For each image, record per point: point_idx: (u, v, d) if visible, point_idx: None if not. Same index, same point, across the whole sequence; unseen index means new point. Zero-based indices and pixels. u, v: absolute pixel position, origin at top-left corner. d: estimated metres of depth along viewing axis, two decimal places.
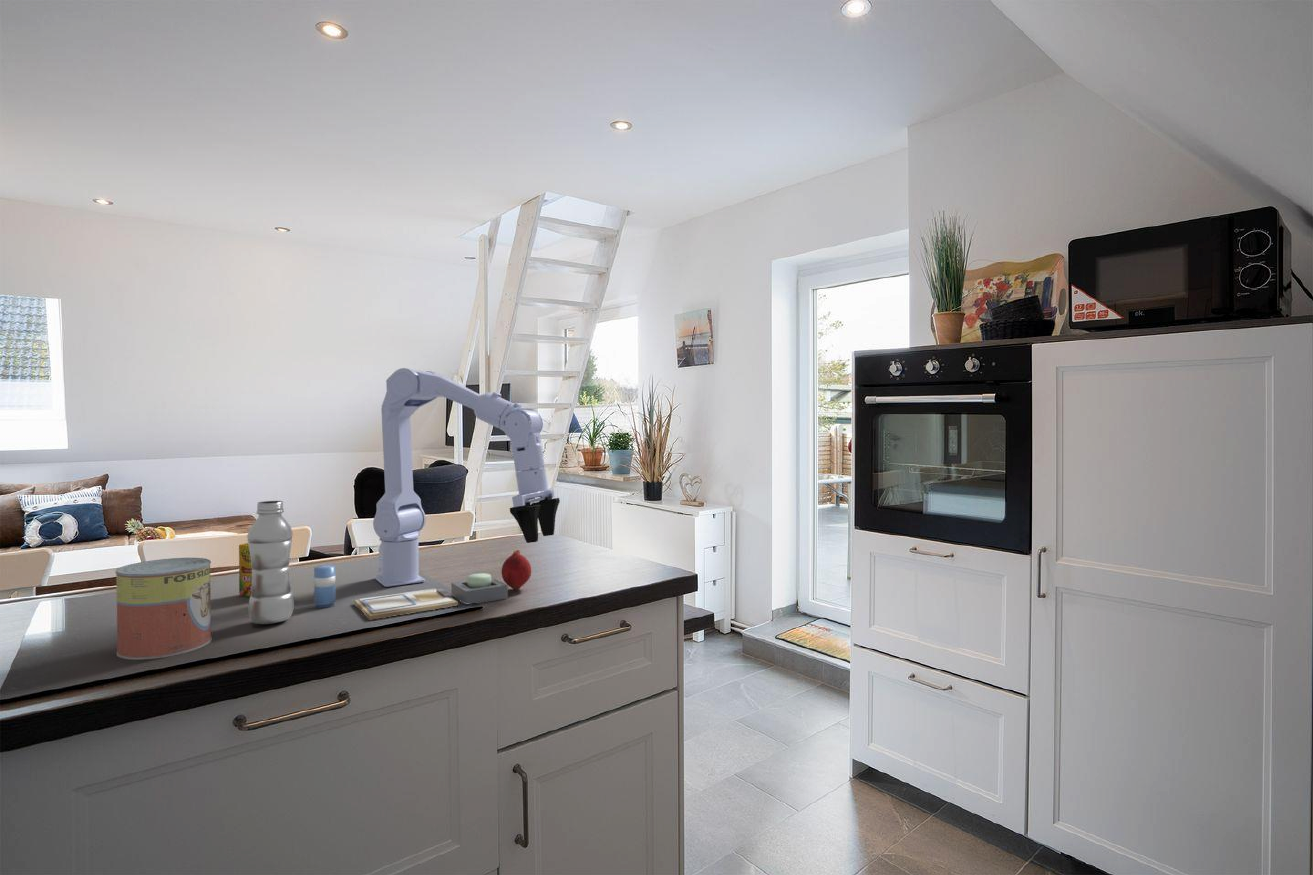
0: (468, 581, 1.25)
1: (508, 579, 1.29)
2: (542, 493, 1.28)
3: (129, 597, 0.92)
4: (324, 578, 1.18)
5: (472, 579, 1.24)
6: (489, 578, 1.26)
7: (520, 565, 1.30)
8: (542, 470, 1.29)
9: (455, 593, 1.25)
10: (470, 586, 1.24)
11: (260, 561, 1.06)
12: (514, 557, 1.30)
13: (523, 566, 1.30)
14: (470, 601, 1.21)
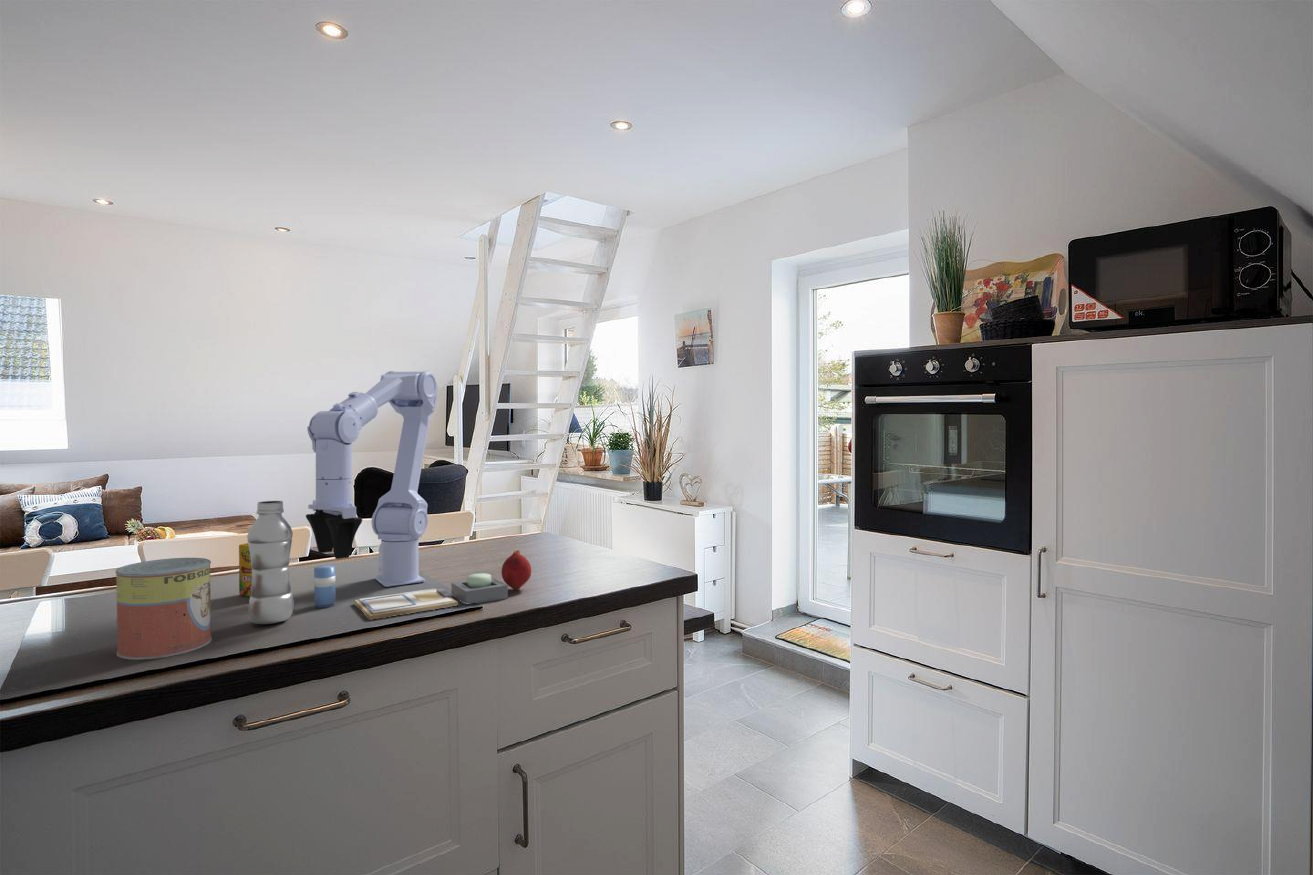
0: (468, 581, 1.25)
1: (508, 579, 1.29)
2: None
3: (129, 597, 0.92)
4: (324, 578, 1.18)
5: (472, 579, 1.24)
6: (489, 578, 1.26)
7: (520, 565, 1.30)
8: (316, 481, 1.16)
9: (455, 593, 1.25)
10: (470, 586, 1.24)
11: (260, 561, 1.06)
12: (514, 557, 1.30)
13: (523, 566, 1.30)
14: (470, 601, 1.21)
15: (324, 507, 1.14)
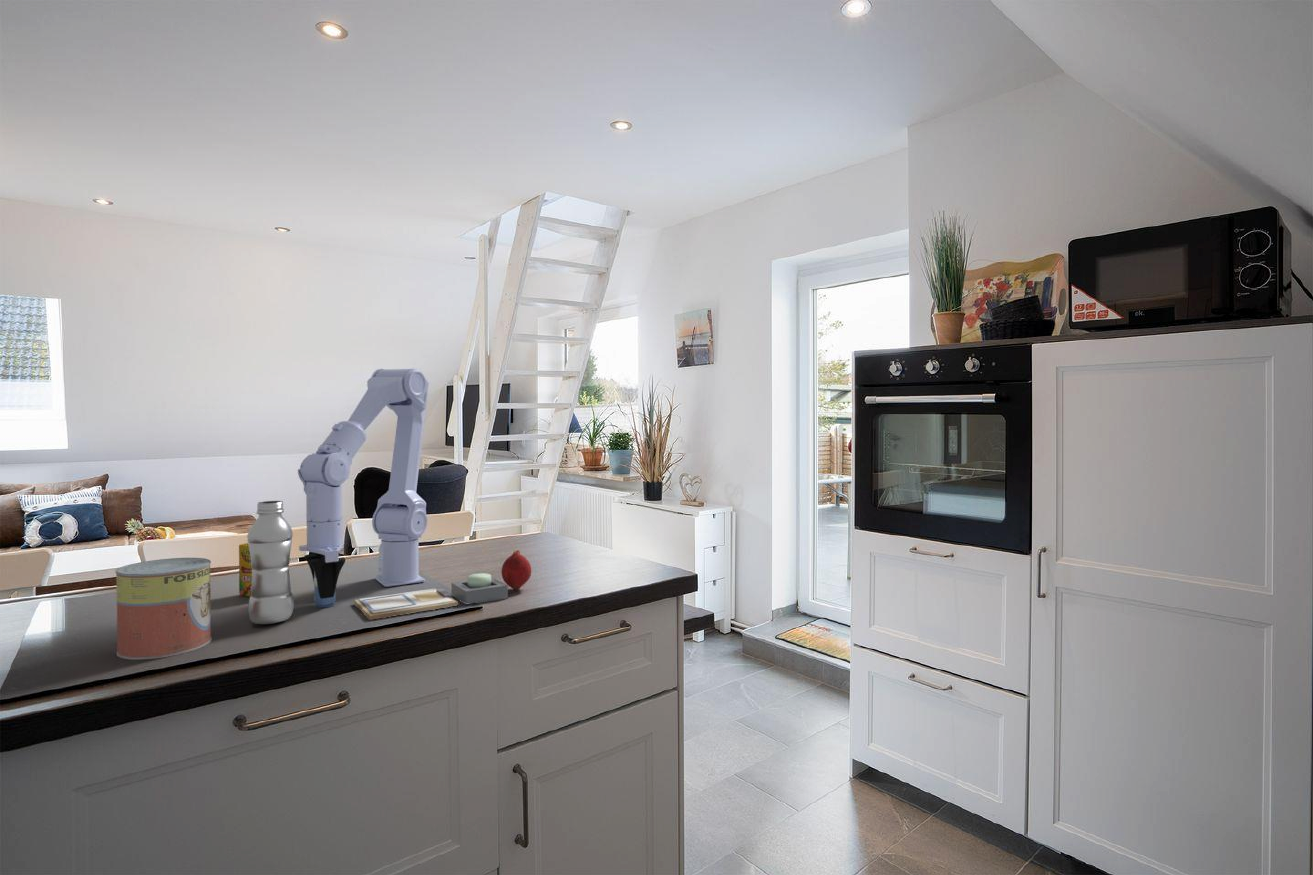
0: (468, 581, 1.25)
1: (508, 579, 1.29)
2: None
3: (129, 597, 0.92)
4: None
5: (472, 579, 1.24)
6: (489, 578, 1.26)
7: (520, 565, 1.30)
8: None
9: (455, 593, 1.25)
10: (470, 586, 1.24)
11: (260, 561, 1.06)
12: (514, 557, 1.30)
13: (523, 566, 1.30)
14: (470, 601, 1.21)
15: (311, 549, 1.16)
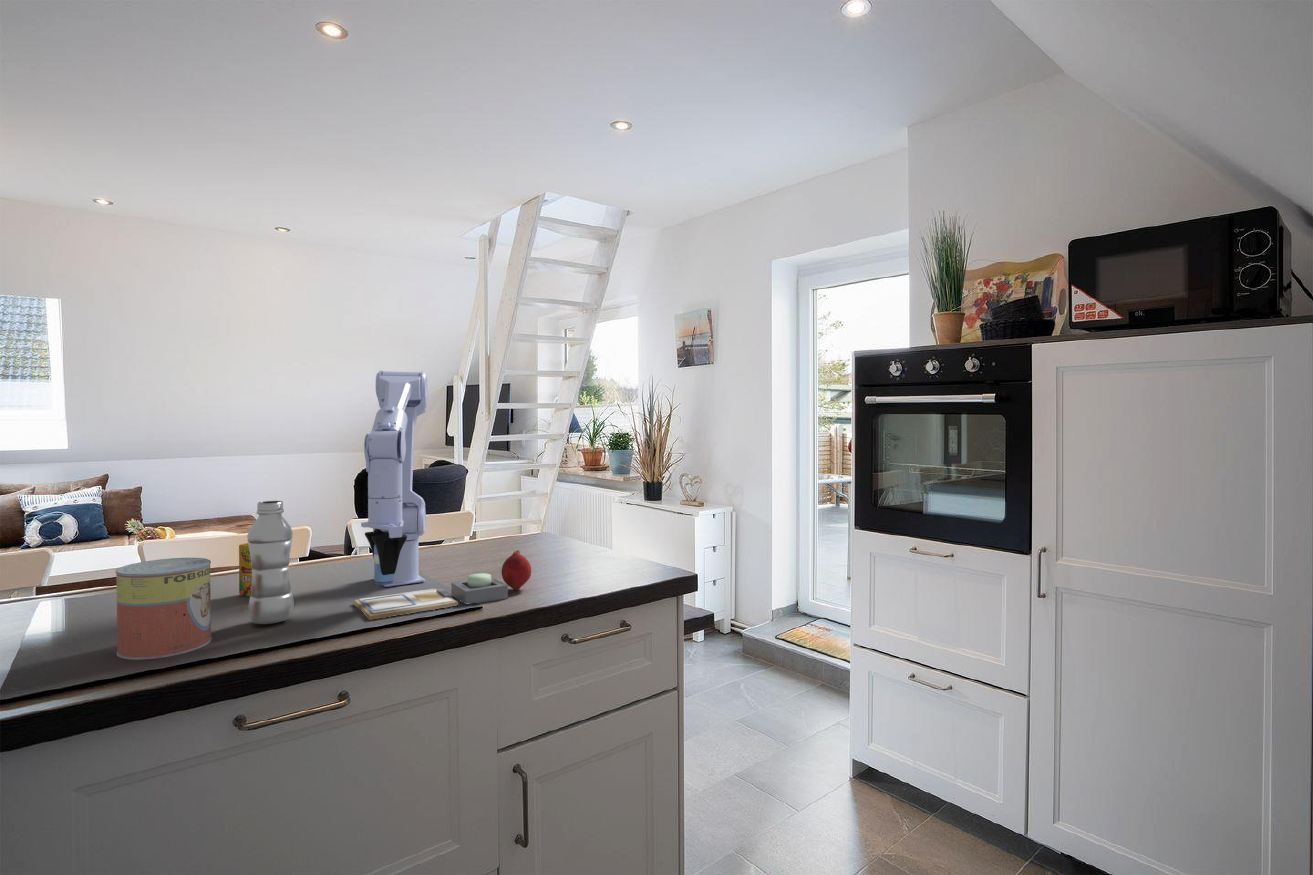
0: (468, 581, 1.25)
1: (508, 579, 1.29)
2: None
3: (129, 597, 0.92)
4: None
5: (472, 579, 1.24)
6: (489, 578, 1.26)
7: (520, 565, 1.30)
8: (368, 500, 1.18)
9: (455, 593, 1.25)
10: (470, 586, 1.24)
11: (260, 561, 1.06)
12: (514, 557, 1.30)
13: (523, 566, 1.30)
14: (470, 601, 1.21)
15: (374, 526, 1.16)
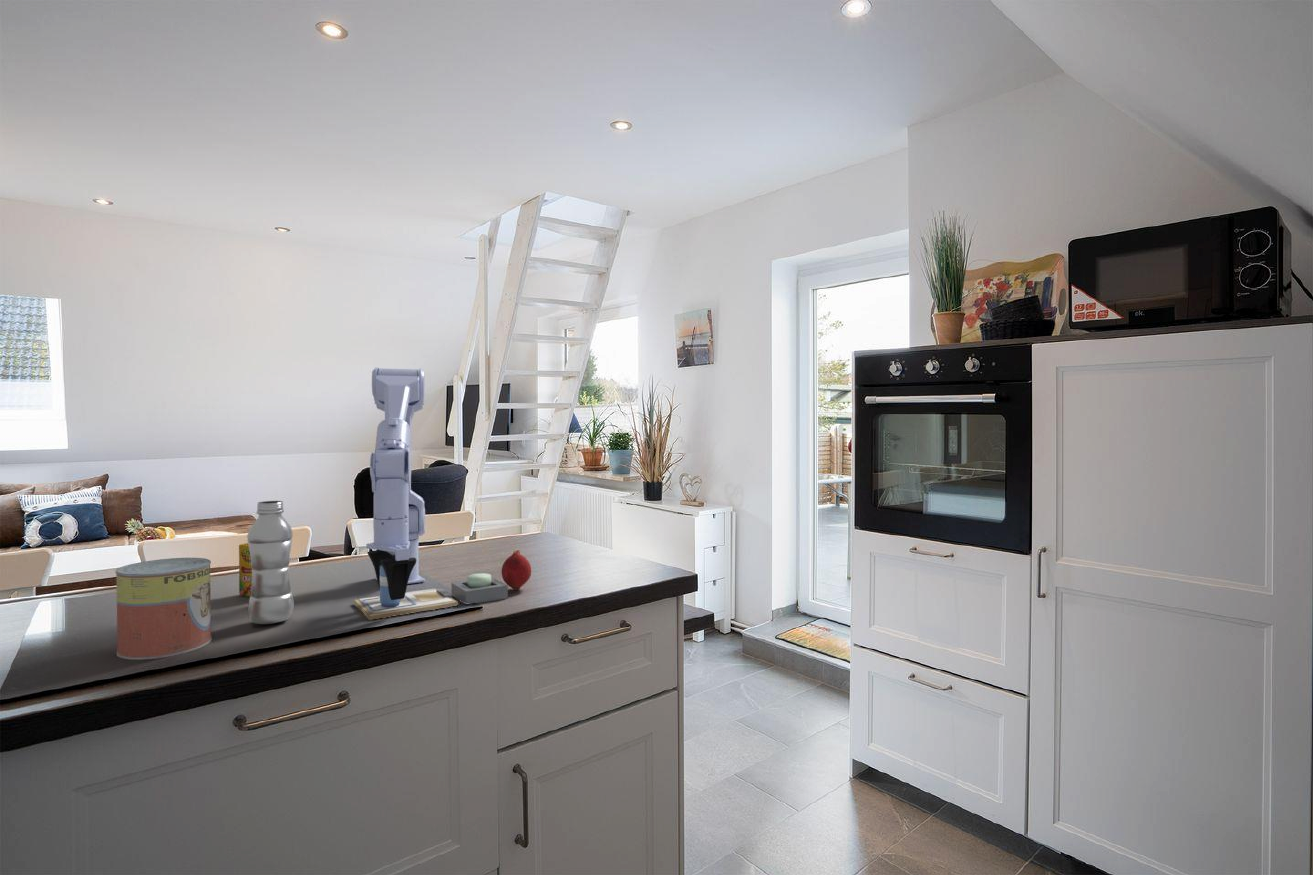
0: (468, 581, 1.25)
1: (508, 579, 1.29)
2: None
3: (129, 597, 0.92)
4: None
5: (472, 579, 1.24)
6: (489, 578, 1.26)
7: (520, 565, 1.30)
8: (373, 520, 1.15)
9: (455, 593, 1.25)
10: (470, 586, 1.24)
11: (260, 561, 1.06)
12: (514, 557, 1.30)
13: (523, 566, 1.30)
14: (470, 601, 1.21)
15: (380, 547, 1.13)
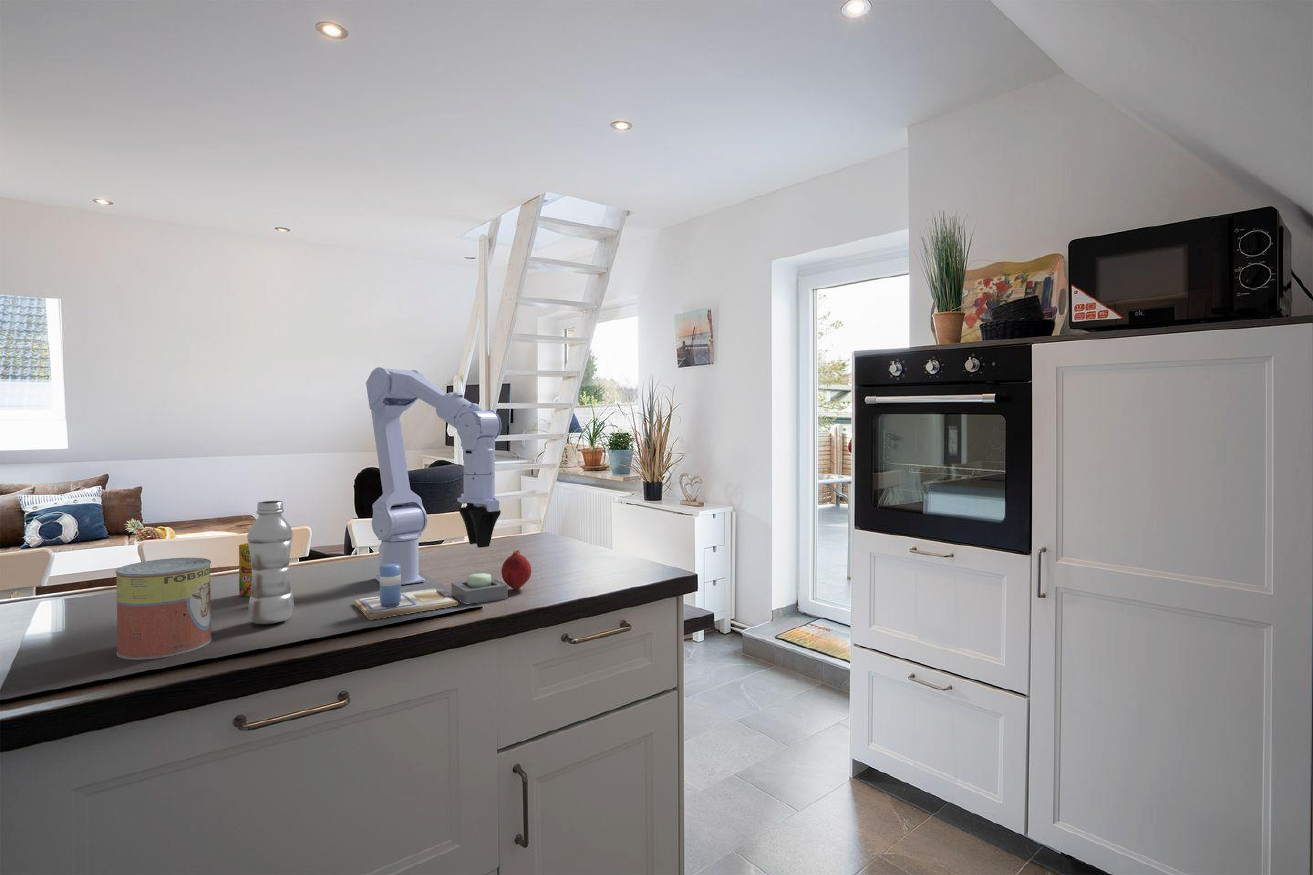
0: (468, 581, 1.25)
1: (508, 579, 1.29)
2: None
3: (129, 597, 0.92)
4: (389, 577, 1.15)
5: (472, 579, 1.24)
6: (489, 578, 1.26)
7: (520, 565, 1.30)
8: (464, 476, 1.24)
9: (455, 593, 1.25)
10: (470, 586, 1.24)
11: (260, 561, 1.06)
12: (514, 557, 1.30)
13: (523, 566, 1.30)
14: (470, 601, 1.21)
15: (471, 500, 1.22)
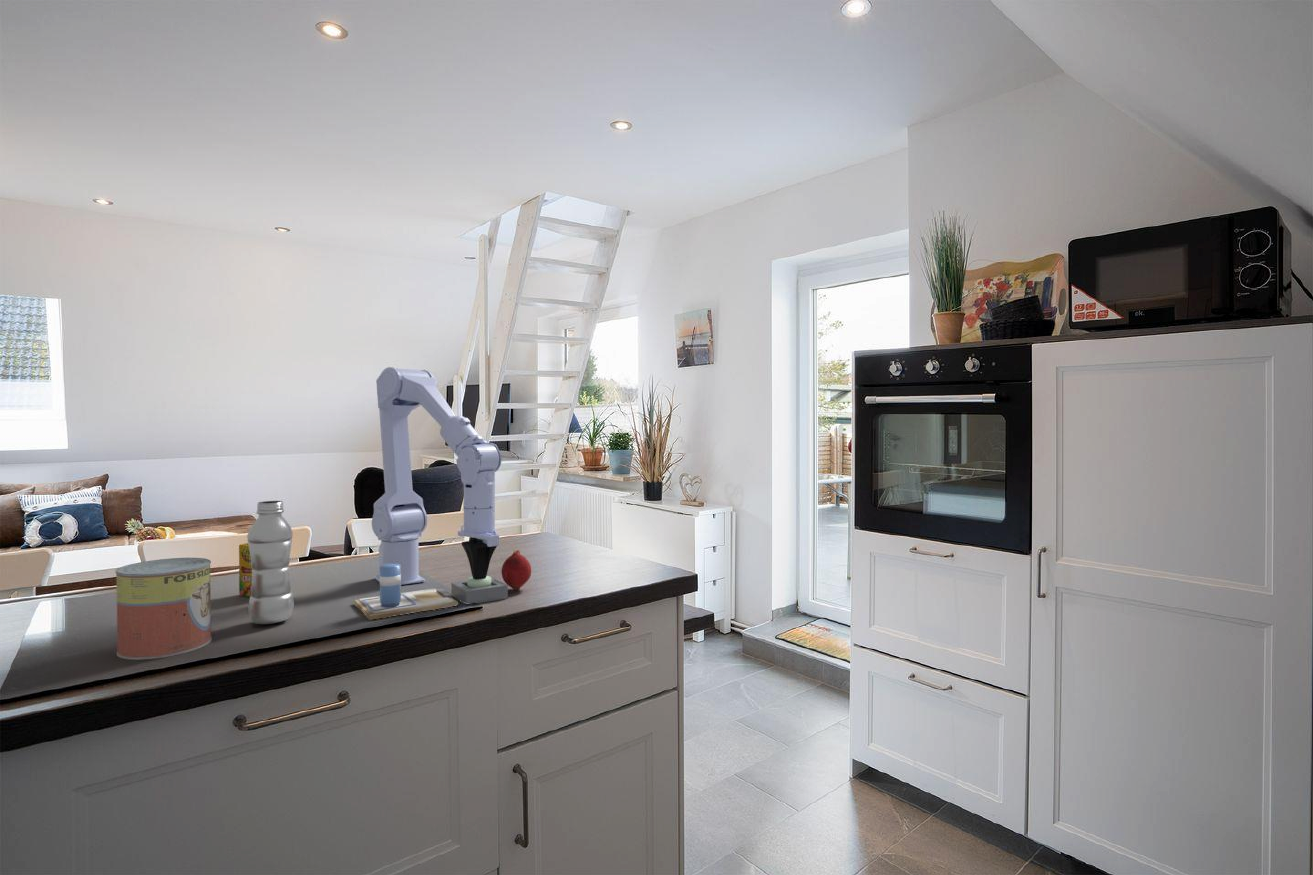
0: (468, 583, 1.25)
1: (508, 579, 1.29)
2: None
3: (129, 597, 0.92)
4: (389, 577, 1.15)
5: (472, 581, 1.24)
6: (489, 580, 1.26)
7: (520, 565, 1.30)
8: (464, 510, 1.25)
9: (455, 593, 1.25)
10: None
11: (260, 561, 1.06)
12: (514, 557, 1.30)
13: (523, 566, 1.30)
14: (470, 601, 1.21)
15: (471, 535, 1.23)
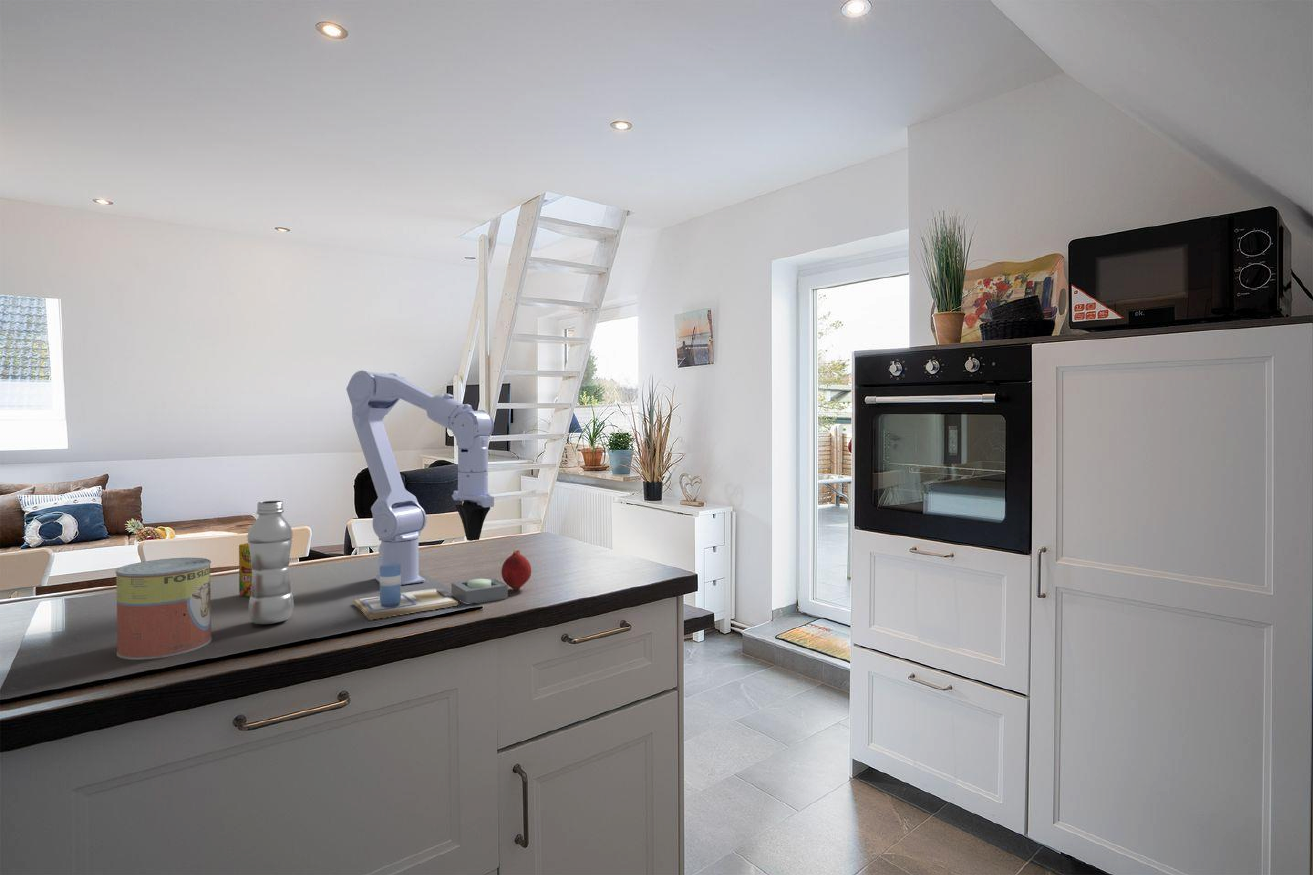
0: (468, 586, 1.25)
1: (508, 579, 1.29)
2: None
3: (129, 597, 0.92)
4: (389, 577, 1.15)
5: (472, 584, 1.24)
6: (489, 583, 1.26)
7: (520, 565, 1.30)
8: (458, 474, 1.30)
9: (455, 593, 1.25)
10: None
11: (260, 561, 1.06)
12: (514, 557, 1.30)
13: (523, 566, 1.30)
14: (470, 601, 1.21)
15: (466, 497, 1.28)
